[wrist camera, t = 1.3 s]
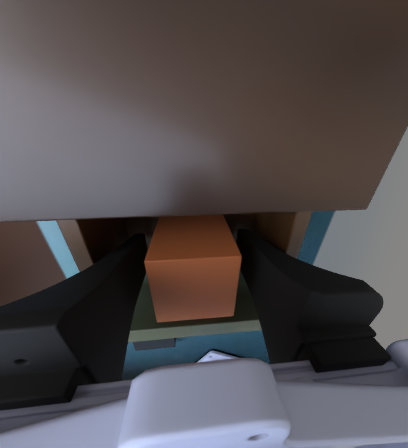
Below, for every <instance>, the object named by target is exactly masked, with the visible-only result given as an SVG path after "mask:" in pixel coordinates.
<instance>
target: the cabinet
mask: <svg viewBox="0 0 408 448" xmlns="http://www.w3.org/2000/svg"><path fill="white" fill-rule="evenodd" d="M407 127H408V0H0V222H23V221H51V220H80V219H108V218H137V217H165V216H194V215H222V214H251V213H279V212H308V211H336V210H362V209H364V210H365V209H367V207H368V206H369V204H370V202H371V199H372V197H373V195H374V193H375V191H376V189H377V187H378V185H379V183H380V181H381V179H382V177H383V175H384V173H385V171H386V169H387V167H388V165H389V163H390V161H391V159H392V157H393V155H394V152H395V151H396V149H397V147H398V145H399V142H400V141H401V138H402V136H403V135H404V132H405V131H406V129H407Z"/></svg>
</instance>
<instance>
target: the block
mask: <svg viewBox="0 0 408 448" xmlns="http://www.w3.org/2000/svg"><path fill="white" fill-rule="evenodd" d="M241 259H242V256H241V253H240V251H239V249H238V247H237V244H236V242H235V240H234V238H233V236H232V233H231V231H230V229H229V227H228V225H227V222H226V220H225V218H224V216H223V214H222V215H194V216H165V217H159V219H158V222H157V225H156V228H155V231H154V234H153V237H152V240H151V243H150V246H149V249H148V252H147V255H146V258H145V261H144V263H145V268H146V273H147V277H148V282H149V287H150V292H151V296H152V301H153V306H154V311H155V316H156V320H157V322H169V321H181V320H192V319H204V318H216V317H228V316H234V310H235V303H236V295H237V288H238V281H239V274H240V266H241Z"/></svg>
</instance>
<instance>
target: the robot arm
mask: <svg viewBox="0 0 408 448" xmlns="http://www.w3.org/2000/svg"><path fill="white" fill-rule="evenodd" d="M236 244H237V247H238V249H239V251H240V253H241V256H242V259H241V266H240V270H241V272H242V275H243V277H244V279H245V282H246V284H247V286H248V289H249V291H250V294H251V296H252V299H253V302H254V305H255V308H256V312H257V315H258V318H259V322H260V325H261V329H262V333H263V336H264V340H265V344H266V348H267V352H268V356H269V360H270V364H269V365H268V364H267V363H265V362H263V361H261V360H259V359H257V358H238V357H235V356H231V355H228V354H224V353H221V352H217V351H210V352H209V353H207V354H206V355H205V356H204V357H203V358H201V359H200V360H199V361H198V362H197V363H188V364H178V365H169V366H161V367H157V368H153V369H149V370H146V371H144V372H143V373H141V374H140V375H138V376H137V377H136V378H135V379H133V380H126V381H121V380H122V374H123V368H124V361H125V356H126V350H127V344H128V339H129V334H130V329H131V324H132V319H133V315H134V310H135V306H136V302H137V299H138V296H139V293H140V290H141V287H142V284H143V281H144V278H145V275H146V268H145V263H144V261H145V258H146V255H147V252H148V248H147V243H146V238H145V233H138V234H134V235H133V236H131V237H130V238H129V239H128V240H126V241H125V242H124V243H123V244H121V245H120V246H119V247H117V248H116V249H115V250H113V251H112V252H111V253H109V254H108V255H107V256H105V257H104V258H102V259H101V260H99V261H98V262H96V263H95V264H93V265H91V266H90V267H88V268H86V269H85V270H83V271H81V272H79V273H77V274H75V275H73V276H72V277H70V278H68V279H66V280H64V281H62V282H60V283H58V284H56V285H53V286H51V287H49V288H47V289H44V290H42V291H40V292H37V293H35V294H32V295H30V296H27V297H25V298H22V299H19V300H17V301H14V302H11V303H9V304H6V305H3V306H0V448H408V339H405V340H399V341H395V342H393V343H392V344H390V345H389V346H388V347H387V349H386V350H385V349H384V348H383V347H382V346H381V345H380V344H379V343H378V342H377V341H376V339H375V338H374V337H375V336H376V332H375V331H374V330H373V329H372V328H371V327H370V326H369V325H370V324H371V322H372V321H373V320H374V319H375V317H376V316H377V315H378V313H379V312H380V311H381V309H382V307H383V298H382V296H381V295H380V294H379V293H377V292H376V291H375V290H374V289H373V288H372V287H370V286H369V285H368V284H367V283H366V282H364V281H363V280H359V279H355V278H352V277H348V276H344V275H340V274H337V273H333V272H330V271H328V270H324V269H321V268H319V267H316V266H313V265H311V264H308V263H306V262H303V261H301V260H299V259H296V258H294V257H292V256H290V255H288V254H286V253H284V252H282V251H280V250H279V249H277V248H275V247H273V246H272V245H270V244H269V243H267V242H265V241H264V240H262V239H261V238H259V237H258V236H257V235H255V234H254V233H252V232H251V231H249V230H247V229H238V231H237V240H236Z"/></svg>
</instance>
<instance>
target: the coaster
mask: <svg viewBox="0 0 408 448" xmlns="http://www.w3.org/2000/svg"><path fill="white" fill-rule="evenodd" d="M175 342H176V338H169V339H159V340H148V341H137V342H133V344H134V347H135V350H146V349H157V348H167V347H175Z"/></svg>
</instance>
